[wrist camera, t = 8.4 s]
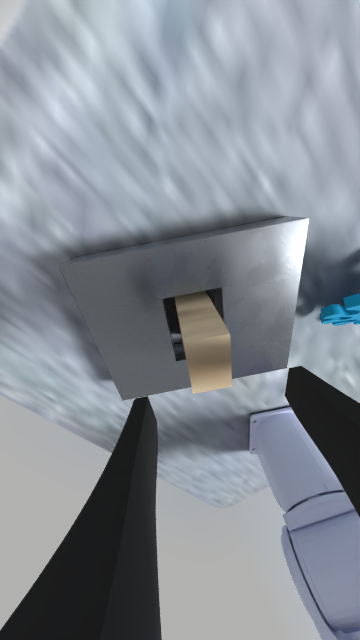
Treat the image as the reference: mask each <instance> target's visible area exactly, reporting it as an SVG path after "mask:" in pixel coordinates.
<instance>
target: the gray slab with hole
mask: <svg viewBox="0 0 360 640" xmlns="http://www.w3.org/2000/svg"><path fill="white" fill-rule="evenodd" d="M308 222H309V218H301V217H289V216H286V217H281V218H275V219H270V220H265V221H260V222H255V223H249V224H244V225H239V226H234V227H228V228H223V229H218V230H213V231H208V232H202V233H197V234H192V235H187V236H181V237H176V238H171V239H166V240H161V241H155V242H150V243H145V244H140V245H134V246H129V247H124V248H119V249H114V250H108V251H103V252H98V253H93V254H87V255H82V256H77V257H73V258H71V259H70V260H68V261H66V262H65V263H63V264H62V265H60V266H59V268H60V270H61V272H62V274H63V276H64V278H65V280H66V282H67V284H68V286H69V289H70V291H71V293H72V295H73V297H74V299H75V301H76V303H77V305H78V308H79V310H80V312H81V314H82V316H83V318H84V320H85V322H86V324H87V327H88V329H89V331H90V333H91V335H92V337H93V339H94V341H95V343H96V346H97V348H98V350H99V352H100V354H101V356H102V358H103V360H104V362H105V364H106V367H107V369H108V371H109V373H110V375H111V377H112V379H113V381H114V383H115V386H116V388H117V390H118V392H119V394H120V396H121V398H122V400H128V399H133V398H138V397H143V396H148V395H153V394H158V393H163V392H168V391H173V390H178V389H183V388H188V387H192V386H191V381H190V376H189V371H188V366H187V361H186V356H185V350H184V345H183V342H182V343H177V344H174V342H173V338H172V334H171V329H170V325H169V320H168V316H167V311H166V307H165V302H164V298H169V297H175V296H180V295H185V294H190V293H195V292H200V291H206V290H211V289H214V290H215V303H216V310H217V312H218V313H219V315H220V317H221V319H222V320H223V322H224V324H225V325H226V327H227V329H228V331H229V332H230V340H231V368H232V379H234V378H239V377H244V376H249V375H254V374H259V373H264V372H269V371H274V370H279V369H284V368H287V363H288V357H289V350H290V343H291V336H292V330H293V323H294V316H295V310H296V303H297V296H298V289H299V283H300V276H301V269H302V263H303V256H304V249H305V242H306V236H307V229H308Z"/></svg>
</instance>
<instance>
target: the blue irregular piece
mask: <svg viewBox="0 0 360 640" xmlns="http://www.w3.org/2000/svg"><path fill="white" fill-rule="evenodd" d="M343 300H344V304H345V306H340V304H333V305H329V306H326V307H324V308H322V309H321V312H322V313H321V314H320V317H321V322H322V324H327V323H332V324H333V325H336V326H338V325H344V324H347V323H352V322H353V323H354V324H360V293H359V294H355V295H351V296H348V297H345V298H343Z"/></svg>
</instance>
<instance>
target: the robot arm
mask: <svg viewBox="0 0 360 640" xmlns="http://www.w3.org/2000/svg"><path fill="white" fill-rule="evenodd" d="M285 397H286V399H287V401H288V402H289V404H290V406H291V407H288V408H283V409H278V410H273V411H268V412H263V413H258V414H253V415H251V416H250V439H249V452H250V454H257V455H258V457H259V460H260V462H261V465H262V467H263V470H264V472H265V475H266V477H267V479H268V482H269V484H270V487H271V489H272V492H273V494H274V497H275V499H276V501H277V502H278V504H279V505H280V507H281V508H282V509H283V510H284V511H285V512H286V513H285V514H283V518H284V520H285V523H286V525H284V526H283V527H282V535H281V542H282V547H283V551H284V555H285V558H286V562H287V565H288V567H289V570H290V573H291V576H292V578H293V581H294V583H295V586H296V588H297V590H298V593H299V595H300V597H301V599H302V601H303V604H304V605H305V608H306V609H307V611H308V613H309V615H310V616H311V618H312V620H313V621H314V623H315V626H316V628H317V630H318V632H319V634H320V636H321V639H322V640H360V403H358V402H357V401H355V400H353V399H352V398H350V397H348V396H347V395H345V394H344V393H342V392H340V391H339V390H337V389H336V388H334V387H333V386H331V385H330V384H328V383H326V382H325V381H323V380H322V379H320V378H319V377H317V376H316V375H314V374H313V373H311V372H310V371H308V370H307V369H305V368H303V367H302V366H299V367H294V368H289V372H288V379H287V385H286V392H285ZM157 454H158V434H157V420H156V418H155V415H154V412H153V410H152V407H151V404H150V401H149V399H148V396H146V397H141V398H136V399H135V400H134V402H133V405H132V408H131V410H130V413H129V416H128V418H127V421H126V423H125V426H124V428H123V430H122V433H121V435H120V437H119V440H118V442H117V444H116V446H115V448H114V451H113V453H112V455H111V457H110V459H109V461H108V463H107V465H106V467H105V469H104V471H103V473H102V475H101V477H100V479H99V481H98V482H97V484H96V486H95V488H94V490H93V491H92V493H91V495H90V497H89V499H88V500H87V502H86V504H85V505H84V507H83V509H82V510H81V512H80V514H79V515H78V517H77V519H76V520H75V522H74V524H73V525H72V527H71V529H70V530H69V532H68V533H67V535H66V536H65V538H64V540H63V541H62V543H61V544H60V546H59V547H58V549H57V550H56V552H55V553H54V555H53V556H52V558H51V559H50V561H49V562H48V564H47V565H46V567H45V568H44V570H43V571H42V573H41V574H40V576H39V577H38V579H37V580H36V582H35V583H34V584H33V586H32V587H31V589H30V590H29V592H28V593H27V594H26V596H25V597H24V598H23V600H22V601H21V603H20V604H19V606H18V607H17V608H16V609H15V611H14V612H13V614H12V615H11V617H10V618H9V619H8V621H7V622H6V623H5V625H4V626H3V627H2V629H1V630H0V640H162V639H161V623H160V607H159V588H158V567H157V546H156V544H157V543H156V514H155V512H156V511H155V509H156V508H155V507H156V478H157Z"/></svg>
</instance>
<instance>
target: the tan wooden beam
mask: <svg viewBox="0 0 360 640" xmlns="http://www.w3.org/2000/svg"><path fill="white" fill-rule="evenodd" d="M174 298H175V303H176V309H177V314H178V319H179V324H180V330H181V335H182V340H183V345H184V350H185V356H186V361H187V366H188V371H189V376H190V381H191V386H192V391H193V394H195V393H200V392H205V391H210V390H215V389H221V388H226V387H231V386H232V368H231V340H230V332H229V331H228V329H227V327H226V325H225V324H224V322H223V320H222V319H221V317H220V315H219V313H218V312H217V310H216V308H215V306H214V305H213V303H212V301H211V300H210V298H209V296H208V294H207V293H206V291H200V292H195V293H190V294H185V295H180V296H175V297H174Z"/></svg>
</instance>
